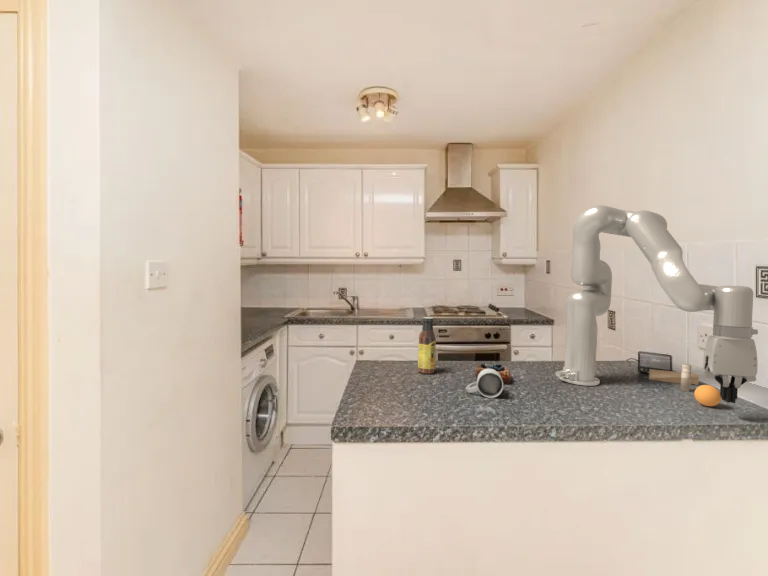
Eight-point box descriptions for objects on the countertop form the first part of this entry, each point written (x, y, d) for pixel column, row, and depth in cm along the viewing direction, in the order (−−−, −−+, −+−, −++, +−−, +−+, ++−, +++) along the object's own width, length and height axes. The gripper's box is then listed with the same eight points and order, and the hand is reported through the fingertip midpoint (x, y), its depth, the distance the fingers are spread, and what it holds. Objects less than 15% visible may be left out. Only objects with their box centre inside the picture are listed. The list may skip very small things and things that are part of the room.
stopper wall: (698, 385, 131) (698, 375, 131) (650, 380, 135) (651, 370, 135) (695, 383, 133) (696, 373, 133) (648, 378, 137) (649, 369, 137)
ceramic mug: (500, 390, 119) (501, 366, 118) (503, 399, 111) (504, 373, 110) (466, 388, 121) (466, 364, 121) (466, 396, 113) (466, 371, 113)
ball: (714, 410, 106) (715, 389, 106) (689, 403, 112) (690, 383, 112) (724, 407, 109) (726, 387, 109) (700, 400, 115) (701, 381, 114)
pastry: (475, 374, 138) (476, 358, 138) (510, 377, 135) (511, 361, 134) (474, 382, 127) (475, 365, 127) (512, 386, 124) (513, 369, 124)
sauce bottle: (434, 375, 134) (436, 319, 132) (416, 373, 135) (418, 318, 134) (435, 370, 140) (437, 317, 139) (418, 369, 141) (420, 316, 140)
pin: (687, 391, 123) (689, 366, 123) (678, 389, 125) (680, 364, 125) (691, 391, 124) (693, 365, 124) (682, 388, 126) (684, 363, 126)
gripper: (758, 332, 101) (755, 400, 102) (691, 328, 106) (688, 393, 107) (777, 336, 94) (773, 409, 95) (703, 332, 99) (700, 402, 100)
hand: (728, 401), depth 101 cm, fingers closed
